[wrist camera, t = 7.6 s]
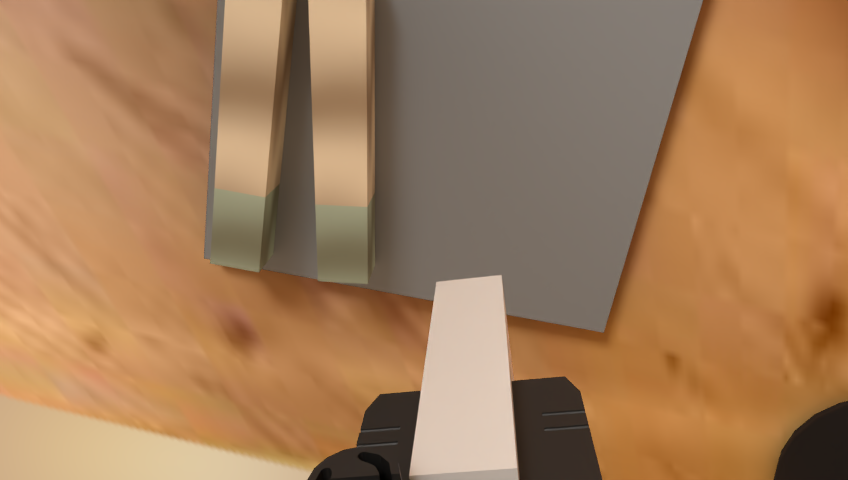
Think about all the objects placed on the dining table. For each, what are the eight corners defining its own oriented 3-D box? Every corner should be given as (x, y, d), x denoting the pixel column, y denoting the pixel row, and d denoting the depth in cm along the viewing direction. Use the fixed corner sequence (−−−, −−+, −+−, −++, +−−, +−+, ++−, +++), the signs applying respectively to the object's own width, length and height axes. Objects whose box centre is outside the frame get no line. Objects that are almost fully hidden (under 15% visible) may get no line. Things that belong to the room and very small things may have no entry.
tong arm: (320, -44, 31) (306, -46, 28) (374, -42, 30) (365, -45, 28) (328, 262, 36) (317, 281, 33) (374, 264, 36) (367, 284, 33)
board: (238, -204, 30) (228, -211, 29) (729, -118, 30) (739, -122, 28) (212, 250, 38) (203, 258, 37) (600, 322, 37) (603, 332, 36)
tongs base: (256, -185, 29) (217, -215, 25) (368, -165, 29) (350, -191, 25) (227, 245, 36) (194, 279, 32) (317, 262, 36) (296, 298, 32)
